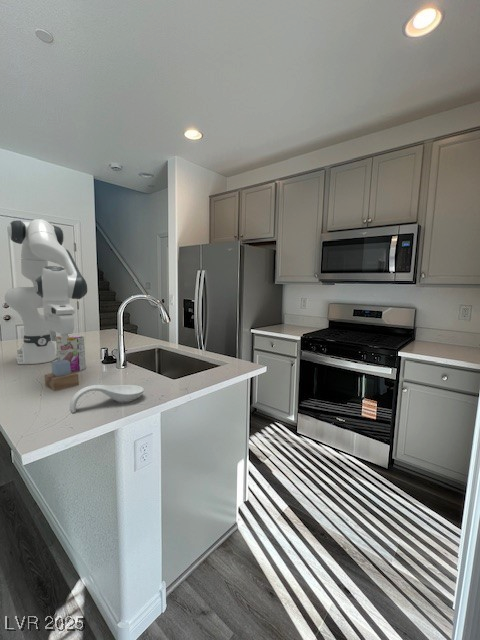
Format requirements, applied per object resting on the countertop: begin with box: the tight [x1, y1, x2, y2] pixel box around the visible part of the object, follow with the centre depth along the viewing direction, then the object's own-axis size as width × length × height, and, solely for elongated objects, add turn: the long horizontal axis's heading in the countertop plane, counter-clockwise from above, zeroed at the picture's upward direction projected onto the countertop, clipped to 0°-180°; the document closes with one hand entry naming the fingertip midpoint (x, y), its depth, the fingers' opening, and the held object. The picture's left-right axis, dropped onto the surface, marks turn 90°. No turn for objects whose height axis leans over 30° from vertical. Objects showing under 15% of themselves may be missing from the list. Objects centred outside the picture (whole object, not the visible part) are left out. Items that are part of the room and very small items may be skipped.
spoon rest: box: [69, 384, 145, 414], centre depth 102 cm, size 24×12×7 cm, turn 128°
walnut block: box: [44, 371, 80, 392], centre depth 119 cm, size 9×9×5 cm
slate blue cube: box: [51, 360, 71, 376], centre depth 119 cm, size 5×5×5 cm
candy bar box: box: [55, 334, 87, 372], centre depth 140 cm, size 11×5×16 cm, turn 84°
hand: (58, 342), depth 117 cm, fingers open, 8 cm apart
